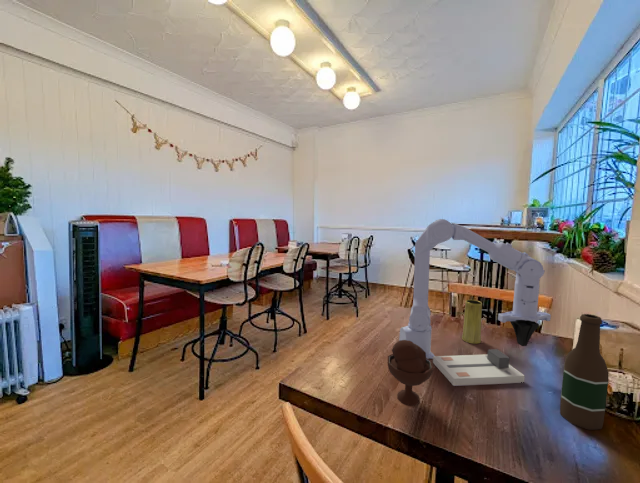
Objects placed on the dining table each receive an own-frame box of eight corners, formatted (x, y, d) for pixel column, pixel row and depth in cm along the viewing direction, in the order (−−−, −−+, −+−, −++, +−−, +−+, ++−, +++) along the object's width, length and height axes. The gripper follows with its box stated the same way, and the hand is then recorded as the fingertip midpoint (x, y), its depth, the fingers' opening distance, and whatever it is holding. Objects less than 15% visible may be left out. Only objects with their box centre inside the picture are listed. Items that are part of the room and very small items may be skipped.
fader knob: (498, 368, 83) (499, 358, 83) (487, 359, 88) (487, 349, 88) (508, 367, 83) (509, 357, 83) (496, 358, 88) (497, 349, 88)
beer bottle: (594, 436, 61) (607, 325, 59) (551, 413, 68) (561, 313, 65) (610, 424, 65) (623, 319, 62) (567, 403, 72) (578, 307, 69)
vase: (479, 345, 102) (482, 305, 100) (460, 340, 105) (462, 302, 104) (482, 339, 107) (484, 301, 105) (463, 335, 110) (466, 298, 109)
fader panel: (453, 385, 79) (454, 378, 78) (432, 362, 90) (433, 356, 90) (524, 382, 80) (524, 375, 80) (494, 360, 92) (495, 353, 92)
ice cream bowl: (426, 419, 66) (429, 355, 64) (379, 401, 72) (380, 343, 70) (436, 394, 75) (438, 337, 73) (393, 380, 81) (395, 328, 79)
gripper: (511, 304, 80) (508, 352, 81) (561, 302, 81) (557, 350, 82) (494, 296, 86) (491, 340, 88) (540, 295, 88) (536, 339, 89)
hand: (522, 344), depth 86 cm, fingers closed
